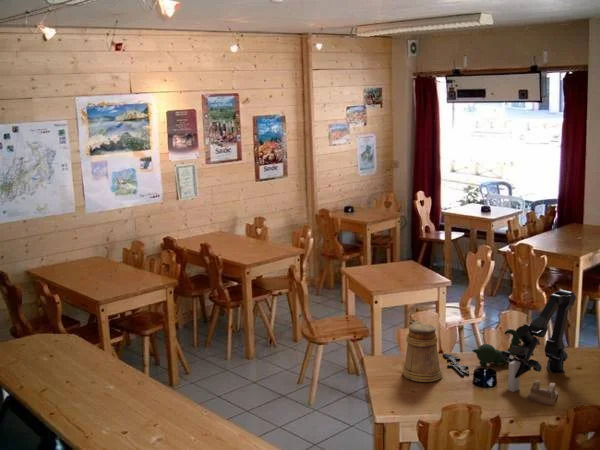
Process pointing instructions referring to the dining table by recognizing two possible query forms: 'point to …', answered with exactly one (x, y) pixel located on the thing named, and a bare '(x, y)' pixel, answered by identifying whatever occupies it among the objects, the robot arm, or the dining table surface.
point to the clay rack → (542, 393)
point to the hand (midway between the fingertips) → (512, 376)
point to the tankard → (422, 353)
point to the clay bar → (513, 376)
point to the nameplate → (456, 365)
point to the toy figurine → (495, 351)
